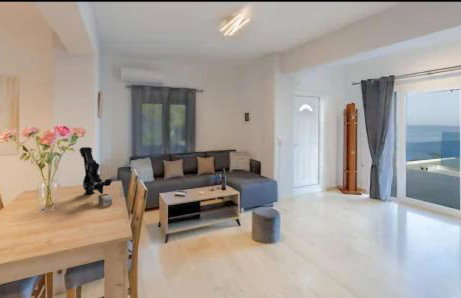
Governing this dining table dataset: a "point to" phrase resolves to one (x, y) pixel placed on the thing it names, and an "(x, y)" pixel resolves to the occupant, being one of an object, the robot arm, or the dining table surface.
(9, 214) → the dining table surface
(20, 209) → the dining table surface
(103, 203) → the polished metal block
